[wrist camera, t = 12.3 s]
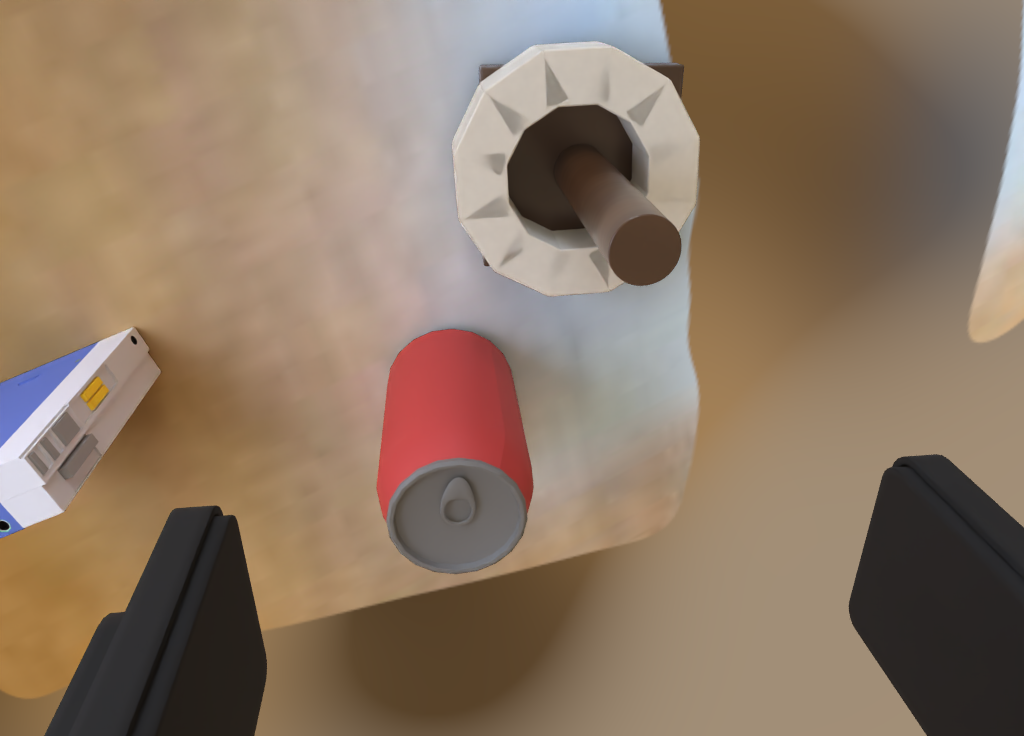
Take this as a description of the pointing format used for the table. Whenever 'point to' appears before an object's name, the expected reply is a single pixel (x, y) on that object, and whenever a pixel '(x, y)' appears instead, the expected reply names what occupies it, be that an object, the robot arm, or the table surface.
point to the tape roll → (528, 98)
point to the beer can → (453, 454)
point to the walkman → (66, 424)
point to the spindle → (593, 186)
